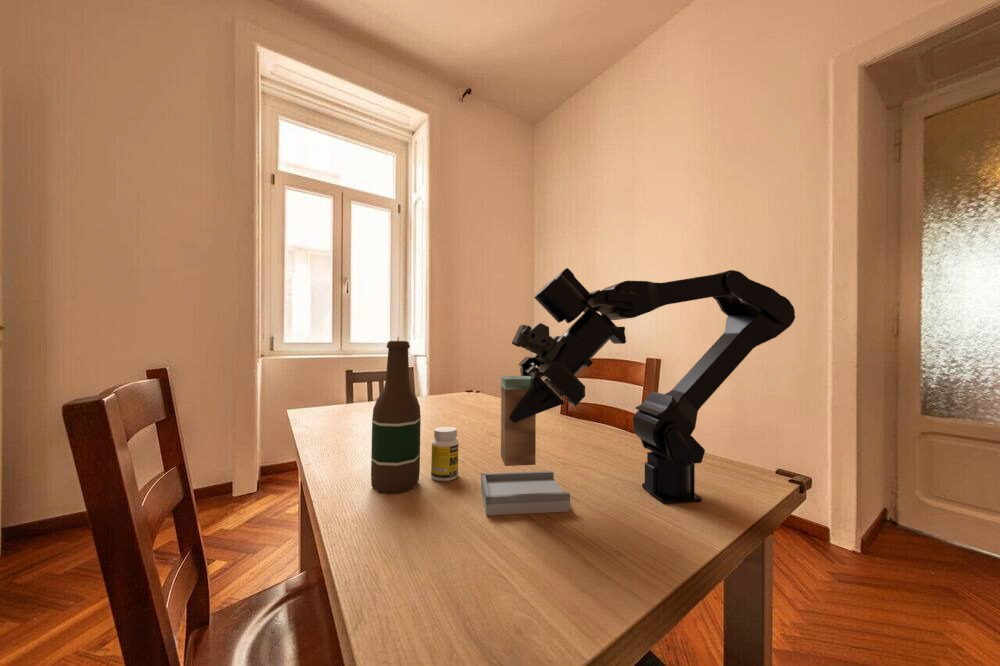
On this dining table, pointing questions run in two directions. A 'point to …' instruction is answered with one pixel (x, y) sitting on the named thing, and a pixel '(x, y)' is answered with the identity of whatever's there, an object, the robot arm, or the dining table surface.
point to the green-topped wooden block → (516, 424)
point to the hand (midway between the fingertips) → (509, 416)
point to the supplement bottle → (444, 454)
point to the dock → (522, 493)
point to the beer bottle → (396, 427)
